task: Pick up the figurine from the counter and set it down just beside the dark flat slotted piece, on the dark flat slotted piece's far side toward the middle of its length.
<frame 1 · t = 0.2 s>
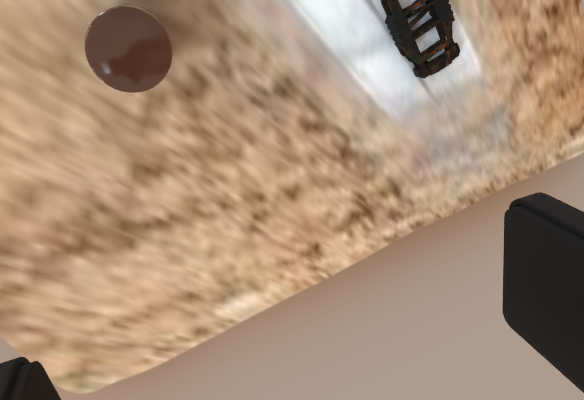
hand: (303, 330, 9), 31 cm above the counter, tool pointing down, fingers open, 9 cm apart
glossy brown cylinder: (132, 42, 34), on the counter
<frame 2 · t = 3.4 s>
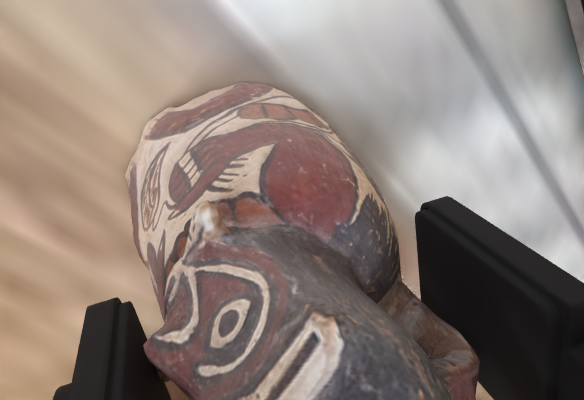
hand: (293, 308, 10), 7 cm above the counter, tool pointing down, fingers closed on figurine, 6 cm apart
figurine: (236, 184, 16), on the counter, touching gripper
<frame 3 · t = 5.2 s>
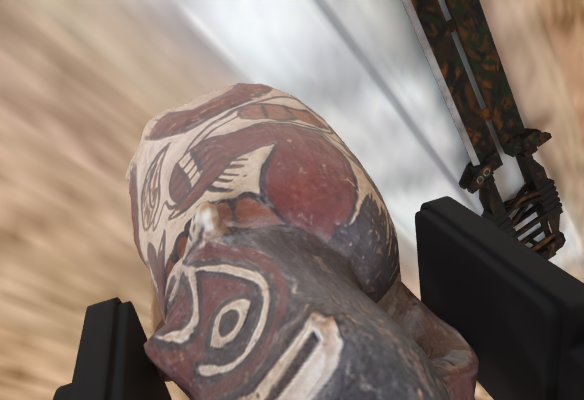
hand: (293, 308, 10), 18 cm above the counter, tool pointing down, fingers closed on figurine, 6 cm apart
dark flat slotted piece: (475, 122, 31), on the counter
glossy brown cylinder: (193, 271, 29), on the counter
figurine: (236, 184, 16), point 11 cm above the counter, touching gripper
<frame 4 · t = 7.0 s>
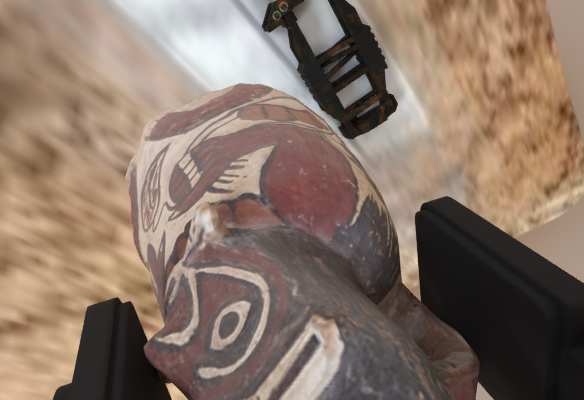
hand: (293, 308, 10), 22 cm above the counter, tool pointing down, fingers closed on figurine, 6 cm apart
figurine: (236, 184, 16), point 15 cm above the counter, touching gripper
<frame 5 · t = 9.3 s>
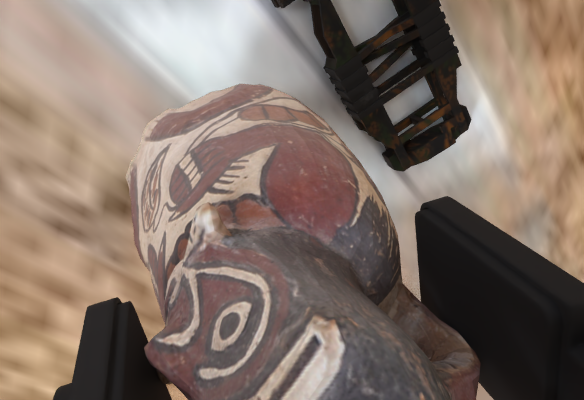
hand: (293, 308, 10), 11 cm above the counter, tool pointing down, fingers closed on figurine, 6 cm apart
figurine: (236, 185, 16), point 4 cm above the counter, touching gripper
when the fingers open (7 cm above the counter, at t = 10.9 s): figurine stays where it is, on the counter.
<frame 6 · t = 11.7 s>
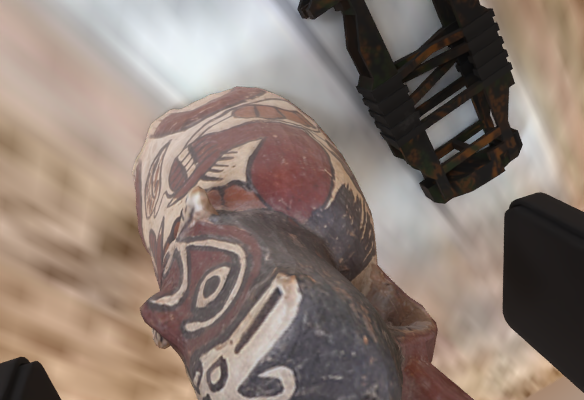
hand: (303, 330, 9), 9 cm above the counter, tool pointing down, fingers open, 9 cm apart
figurine: (234, 181, 17), on the counter
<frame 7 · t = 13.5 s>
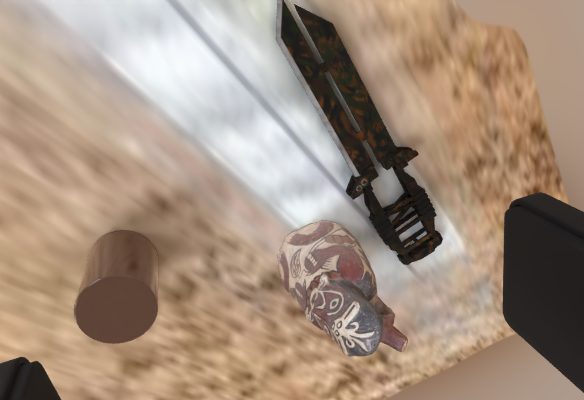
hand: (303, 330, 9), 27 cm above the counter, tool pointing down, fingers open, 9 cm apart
dark flat slotted piece: (356, 141, 38), on the counter
glossy brown cylinder: (123, 259, 36), on the counter
figurine: (316, 256, 41), on the counter
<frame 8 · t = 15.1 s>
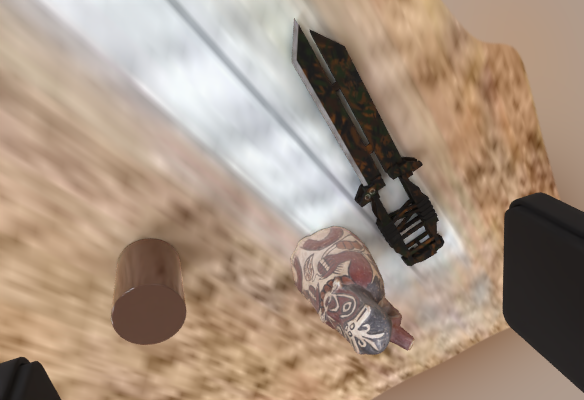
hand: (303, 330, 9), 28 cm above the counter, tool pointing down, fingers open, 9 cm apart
dark flat slotted piece: (364, 153, 40), on the counter
glossy brown cylinder: (149, 265, 39), on the counter
figurine: (326, 259, 43), on the counter
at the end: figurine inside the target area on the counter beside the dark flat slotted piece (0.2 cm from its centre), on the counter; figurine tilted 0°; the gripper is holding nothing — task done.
